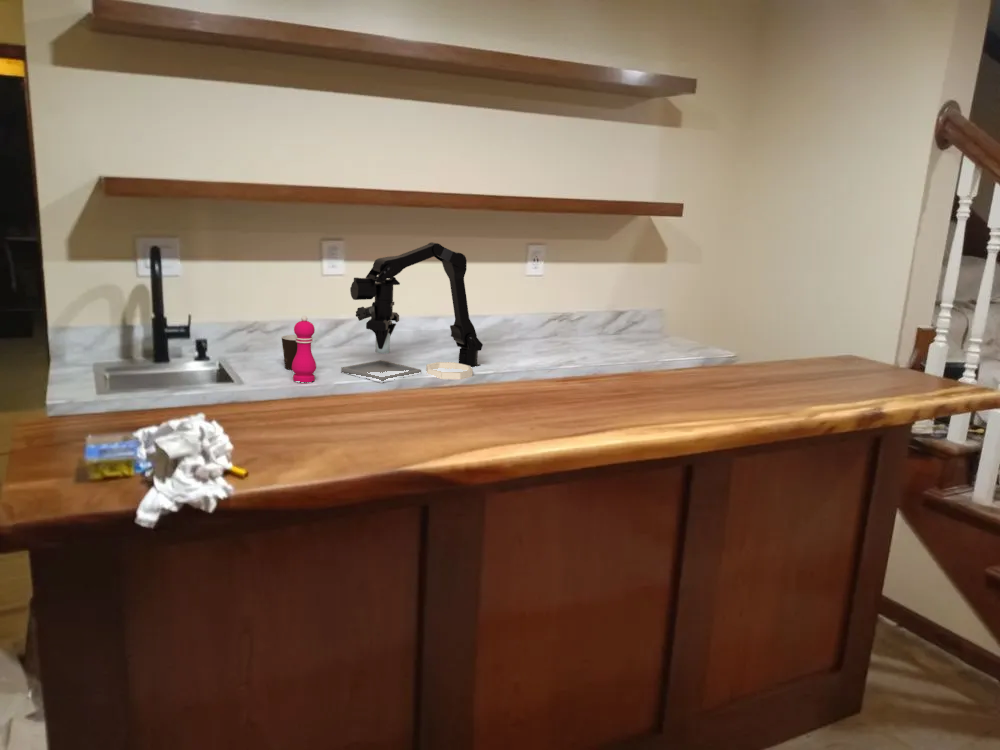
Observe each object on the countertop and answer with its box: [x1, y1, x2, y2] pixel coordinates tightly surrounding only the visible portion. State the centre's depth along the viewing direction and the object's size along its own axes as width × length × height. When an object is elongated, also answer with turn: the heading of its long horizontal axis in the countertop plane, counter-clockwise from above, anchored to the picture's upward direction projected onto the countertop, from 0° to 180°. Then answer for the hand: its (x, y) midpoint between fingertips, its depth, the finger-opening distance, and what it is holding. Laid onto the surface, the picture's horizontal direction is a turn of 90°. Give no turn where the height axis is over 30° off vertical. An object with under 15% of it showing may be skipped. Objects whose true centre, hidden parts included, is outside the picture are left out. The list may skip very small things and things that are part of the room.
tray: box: [340, 359, 422, 381], centre depth 255 cm, size 18×18×2 cm
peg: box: [375, 333, 391, 355], centre depth 253 cm, size 4×4×6 cm
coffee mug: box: [281, 334, 297, 371], centre depth 255 cm, size 12×9×10 cm
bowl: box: [425, 361, 474, 380], centre depth 259 cm, size 15×15×2 cm
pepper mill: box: [291, 315, 317, 383], centre depth 238 cm, size 7×7×20 cm
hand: (382, 347), depth 253 cm, fingers closed on peg, 4 cm apart
